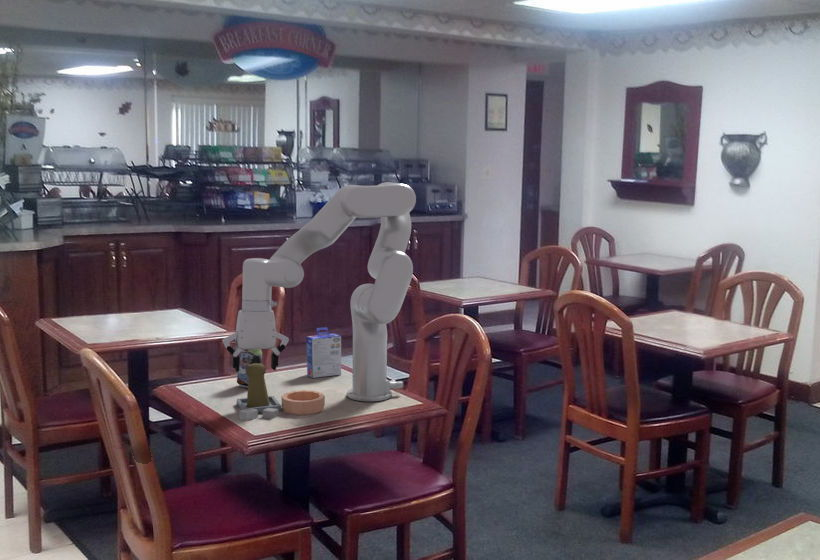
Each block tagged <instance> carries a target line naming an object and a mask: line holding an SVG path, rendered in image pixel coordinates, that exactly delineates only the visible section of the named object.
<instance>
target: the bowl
mask: <svg viewBox="0 0 820 560" xmlns="http://www.w3.org/2000/svg"><path fill="white" fill-rule="evenodd" d="M325 398H326V397H325V395H324V393H323V392H320V391H316V390H306V389H305V390H304V389H303V390H292V391H289V392H285V393H283V394H282V395H281V399H280V400H281V411H283V412H284V413H285V412H286V413H285V414H288V413H289V415H295V416H308V414H310V415H315V413H316V414H319V413H321V412H324V409H325V406H326V402H325V401H326V399H325Z"/></svg>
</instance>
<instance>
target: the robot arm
mask: <svg viewBox="0 0 820 560" xmlns="http://www.w3.org/2000/svg"><path fill="white" fill-rule="evenodd" d="M416 199H417V195H416V193H415V190H414V189H413V188H412V187H411V186H410V185H408V184H405V183H400V182H389V181H387V182H381V183H379V184H377V185H359V184H358V185H357V184H346V185H344V186H342V187H341V188H339V189H338V190H336V192H335V193H334V195H332V197H330V199H329V200H328V201H327V202H326V203H325V205H323V207H321V209H320V210H319V211H318V212H317V213H316V214H314V216H313V217H312V218H311V220H310V221H308V222H307V223H306V224H305V225H303V226H302V227H301V228H300V229H299V230H298V231H296V232H295V233H294V234H292V235H291V236H290V237H289V238H288V239H286V240H285V242H283V244H282V245H281V246H280V247H278V249H277V250H276V251H275V253H273V254H272V256H271V257H269V259H268V258H261V257H255V258H254V257H252V258H247V259H245V260H244V261H243V263H242V287H241V288H242V292H241V293H242V294H241V295H242V296H241V299H242V301H241V309H240V310H238V312H237V313H238V314H237V319H236V325H235V326H236V327H235V332H234V333H233V334H232V333H231V334H230V335H228V336H226V337H225V338H222V343H223V345H224V347H225V348H226V350H227V351H228V352H229V354H231V356H232V369H234V371H235V372H236V373H238V372H239V367H240V356H239V354H241V351H242V350H243V349H244V350H249V349H261V350H269V349H270V350H271V351H272V353H271V355H270V356H271V358H270V368H271V369H272V371H277V367H279V356H280V355H281V353H282V352H283V351H284V350H285V349H286V346H287V345H288V343H289V341H290V339H289V337H287V336H286V335H284V334H282V333H279V332H277V328H276V319H275V318H276V317H275V314H274V313H275V312H274V310H273V308H274V307H278V302H277V300H273V299H272V294H273V293H272V292H273V291H272V289H273V287H278V288H285V289H286V288H288V289H289V288H290V289H292V288H295V287H297V286H298V285H300V284H301V283H302V282H303V279H304V276H305V271H304V269H303V266H302V264H303V262H304V261H305V260H307V258H308V257H310V256H311V255H312V254H315V252H318V251H320V250H322V249H325V248H328V247H329V246H332V245H333V244H334V243H335V242H336V241H337V240H338V239H339V237H340V236H341V235H342V234H343V233H344V232H345V231H346V230H347V229H348V227H349V226H350V225H351V224H352V223H353V222H354V220H356V218H358V219H375V218H380V228H379V232H378V236H377V238H376V240H375V244H374V247H373V249H372V251H371V253H370V256H369V259H368V262H367V272H368V273H369V275H370V277H371V278H373V279H374V280H375V282H374V283H364V284H361V285H359V286H358V287H356V288H355V289H354V291H353V292H352V294H351V297H350V304H349V305H350V312H351V321H352V388H350V389H348V390H346V397H347V398H349V399H351V400H352V401H358V402H369V403H370V402H372V403H373V402H380V401H387V400H388V399H390V398H392V397H393V392H392V391H393V389H403V388H404V382H403V381H401V380H399V381H396V380H395V379H394V380H389V379H388V378H387V370H388V369H387V366H388V362H387V361H388V355H387V354H388V353H387V352H388V329H387V324H389V323H391V322H392V321H394V319H396V317H397V316H398V314H399V312H400V311H401V308H402V306H403V303H404V301H405V298H406V295H407V292H408V289H409V287H410V284H411V281H412V279H413V278H412V277H413V274H414V273H413V272H414V265H413V261H412V259H411V257H410V256H409V255H407V253H406V250H407V247H408V244H409V241H410V238H411V234H412V218H411V215H410V213H411V211H413V210H414V208H415V206H416V203H417V200H416ZM277 339H279V340H281V341H280V342H281V343H280V344H279V345H278V346H277V347H276V345H277ZM233 341H235V345H236V346H235V347H234V348H233V347H232V346H231V344H230V343H231V342H233Z"/></svg>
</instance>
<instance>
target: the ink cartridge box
mask: <svg viewBox="0 0 820 560" xmlns="http://www.w3.org/2000/svg"><path fill="white" fill-rule="evenodd" d="M328 329H329V328H328V327H327V326H325V327H316V335H308V336H305V337H306V342H305V343H306V376H308V377H310V378H312V379H314V378H315V379H316V378H322V377H323V378H324V377H330V376H341V375H342V336H341V335H339V334H337V333H329V330H328ZM320 331H322V332H320Z"/></svg>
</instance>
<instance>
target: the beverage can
mask: <svg viewBox="0 0 820 560" xmlns="http://www.w3.org/2000/svg"><path fill="white" fill-rule="evenodd" d="M239 357H240V367H239V372H237V378H236V383H237V384H238V385H239V386H240V387H242V388H247V389H248V376H247V374H246V367H247V366H248V365H250V364H254V363H260V364H262V358H263V351H262V349H249V350H244V349H243V350H242V351H241V352H240V356H239Z"/></svg>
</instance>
